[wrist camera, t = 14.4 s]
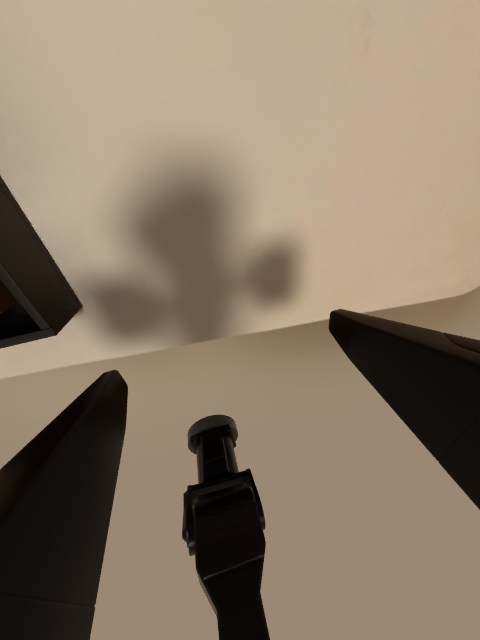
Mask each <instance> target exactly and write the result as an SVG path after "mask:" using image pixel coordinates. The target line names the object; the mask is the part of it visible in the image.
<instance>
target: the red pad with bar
mask: <svg viewBox="0 0 480 640" xmlns="http://www.w3.org/2000/svg"><path fill="white" fill-rule="evenodd" d="M17 303H18V301H17V300H16V298H15V297H14V296H13V295H12V294H11V292H10V291H9V290H8V289H7V287H6V286H5V285H4V284H3V283H2V281H1V280H0V314H1V313H3V312H4V311H6V310H7V309H9V308H11V307H12V306H14V305H15V304H17Z"/></svg>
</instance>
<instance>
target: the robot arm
mask: <svg viewBox="0 0 480 640" xmlns="http://www.w3.org/2000/svg"><path fill="white" fill-rule="evenodd" d="M329 331H330V332H331V334H332V335H333V337H334V338H335V340H336V341H337V342H338V344H339V345H340V347H341V348H342V350H343V351H344V352H345V354H346V355H347V357H348V358H349V359H350V360H351V362H352V363H353V364H354V365H355V366H356V367H357V369H358V370H359V371H360V372H361V373H362V374H363V376H364V377H365V378H366V379H367V380H368V381H369V382H370V384H371V385H372V386H373V387H374V388H375V389H376V390H377V392H378V393H379V394H380V395H381V396H382V397H383V399H384V400H385V401H386V402H387V403H388V404H389V405H390V407H391V408H392V409H393V410H394V411H395V412H396V413H397V415H398V416H399V417H400V418H401V419H402V420H403V422H404V423H405V424H406V425H407V426H408V427H409V429H410V430H411V431H412V432H413V433H414V434H415V435H416V437H417V438H418V439H419V440H420V441H421V442H422V444H423V445H424V446H425V447H426V448H427V449H428V450H429V452H430V453H431V454H432V455H433V456H434V457H435V458H436V460H437V461H439V463H440V464H441V466H442V467H443V468H444V469H445V470H446V471H447V473H448V474H449V475H450V476H451V477H452V478H453V480H454V481H455V482H456V483H457V484H458V485H459V486H460V488H461V489H462V490H463V491H464V492H465V493H466V495H468V497H469V498H470V499H471V500H472V501H473V503H474V504H475V505H476V506H477V507H478V508H479V510H480V340H475V339H471V338H466V337H462V336H457V335H452V334H448V333H442V332H439V331H435V330H431V329H426V328H422V327H417V326H413V325H408V324H404V323H400V322H395V321H391V320H387V319H382V318H378V317H374V316H369V315H364V314H361V313H356V312H352V311H347V310H343V309H338V310H334V311H332V312H331V313H330V319H329ZM127 397H128V387H127V384H126V382H125V381H124V379H123V378H122V376H121V375H120V373H119V372H118V371H117V370H112V371H109V372H105V373H103V374H102V375H101V376H100V377H99V378H98V379H97V380H96V381H95V382H94V383H93V384H91V386H89V387H88V388H87V389H86V390H85V391H84V392H83V393H82V394H81V395H80V396H78V397H77V398H76V399H75V400H74V401H73V402H72V403H71V404H70V405H69V406H68V407H67V408H66V409H65V410H64V411H63V412H61V413H60V414H59V415H58V416H57V417H56V418H55V419H54V420H53V421H52V422H51V423H50V424H49V425H47V426H46V427H45V428H44V429H43V430H42V431H41V432H40V433H39V434H38V435H37V436H36V437H35V438H34V439H33V440H31V441H30V442H29V443H28V444H27V445H26V446H25V447H24V448H23V449H22V450H21V451H20V452H18V453H17V454H16V455H15V456H14V457H13V458H12V459H11V460H10V461H9V462H8V463H7V464H6V465H5V466H3V467H2V468H1V469H0V640H90V634H91V629H92V623H93V617H94V611H95V607H94V606H95V603H96V598H97V592H98V586H99V581H100V575H101V569H102V563H103V557H104V552H105V545H106V540H107V534H108V528H109V522H110V517H111V511H112V505H113V499H114V493H115V487H116V482H117V476H118V470H119V464H120V458H121V453H122V447H123V441H124V435H125V429H126V415H127ZM189 441H190V443H191V445H192V447H193V449H194V451H195V453H196V454H197V467H198V483H199V484H196V485H189V486H188V490H187V491H186V492H185V493H184V513H183V529H182V538H183V540H184V541H185V542H187V547H188V548H189V554H190V556H192V555H195V557H196V558H195V559H196V569H197V573H198V578H199V582H200V585H201V587H202V589H203V591H204V593H205V594H206V597H207V598H208V600H209V602H210V604H211V606H212V608H213V610H214V612H215V614H216V616H217V620H218V631H219V640H270V638H269V633H268V628H267V623H266V618H265V614H264V609H263V605H262V599H261V594H260V588H261V579H262V571H263V562H264V554H265V545H266V544H265V543H266V542H265V537H264V533H263V530H264V529H265V518H264V513H263V509H262V505H261V501H260V497H259V494H258V491H257V488H256V486H255V483H254V480H253V477H252V474H251V471H250V469H246V470H245V471H242V472H239V471H238V466H237V462H236V457H235V452H234V447H236V443H235V439H234V436H233V432H232V429H231V426H230V424H226V425H223V426H220V427H217V428H214V429H211V430H208V431H205V432H202V433H199V434H196V435H193V436H191V437H190V438H189Z"/></svg>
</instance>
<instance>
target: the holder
mask: <svg viewBox="0 0 480 640" xmlns="http://www.w3.org/2000/svg"><path fill="white" fill-rule="evenodd" d="M0 280H1V281H2V283H3V284H4V285H5V286H6V287H7V289H8V290H9V291H10V292H11V294H12V295H13V296H14V297H15V298H16V300H17V301H18V303H17V304H15V305H14V306H12V307H11V308H9V309H7V310H6V311H4V312H3V313H1V314H0V348H5V347H9V346H13V345H17V344H21V343H26V342H30V341H34V340H38V339H42V338H47V337H51V336H55V335H57V334H58V333H59V332H60V331H61V330H62V328H63V327H64V326H65V325H66V324H67V323H68V322H69V321H70V320H71V319H72V317H73V316H74V315H75V314H76V313H77V312H78V311H79V310H80V309H81V308H82V305H81V303H80V302H79V300H78V298H77V297H76V295H75V294H74V292H73V291H72V289H71V287H70V286H69V284H68V283H67V281H66V280H65V278H64V276H63V275H62V273H61V272H60V270H59V269H58V267H57V265H56V264H55V262H54V261H53V259H52V258H51V256H50V254H49V253H48V251H47V250H46V248H45V247H44V245H43V243H42V242H41V240H40V239H39V237H38V236H37V234H36V232H35V231H34V229H33V228H32V226H31V225H30V223H29V221H28V220H27V218H26V217H25V215H24V214H23V212H22V210H21V209H20V207H19V206H18V204H17V202H16V201H15V199H14V198H13V196H12V195H11V193H10V191H9V190H8V188H7V187H6V185H5V184H4V182H3V180H2V179H1V177H0Z"/></svg>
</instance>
